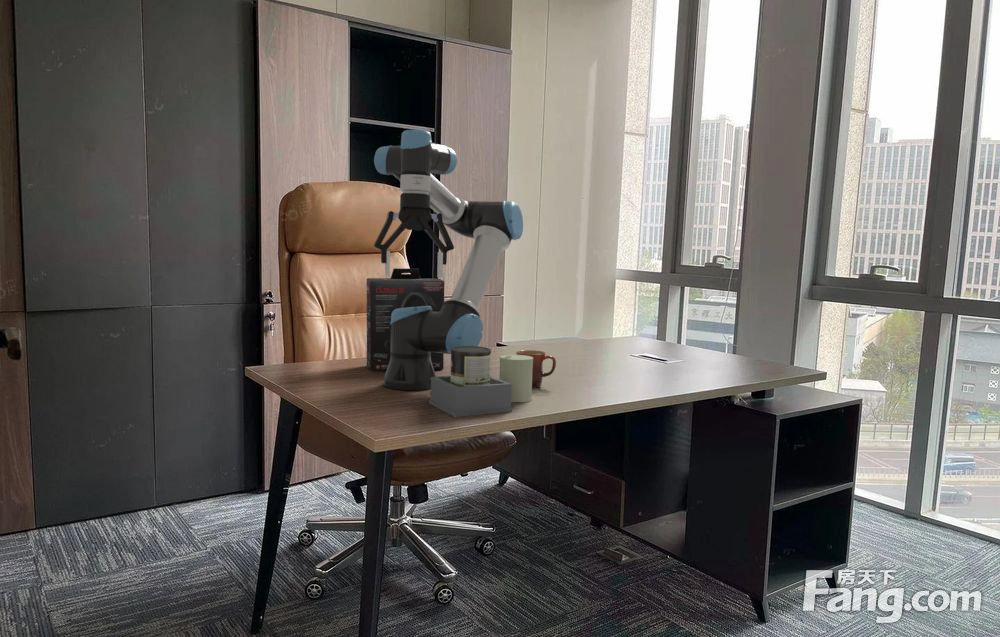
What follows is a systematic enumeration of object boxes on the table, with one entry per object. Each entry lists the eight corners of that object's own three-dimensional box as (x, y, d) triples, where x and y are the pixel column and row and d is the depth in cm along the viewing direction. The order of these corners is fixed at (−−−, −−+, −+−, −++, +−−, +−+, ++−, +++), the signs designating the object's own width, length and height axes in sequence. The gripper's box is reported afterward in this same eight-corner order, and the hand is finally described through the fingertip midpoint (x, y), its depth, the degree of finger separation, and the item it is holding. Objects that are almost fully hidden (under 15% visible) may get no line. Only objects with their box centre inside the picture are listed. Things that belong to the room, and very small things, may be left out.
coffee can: (443, 405, 184) (444, 350, 182) (457, 397, 193) (458, 345, 192) (482, 409, 181) (484, 352, 179) (494, 401, 191) (496, 347, 189)
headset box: (368, 372, 234) (369, 268, 230) (364, 365, 245) (365, 266, 242) (444, 370, 240) (446, 269, 237) (436, 364, 252) (438, 268, 249)
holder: (429, 403, 190) (429, 376, 190) (483, 398, 198) (484, 373, 197) (454, 416, 176) (455, 388, 176) (512, 411, 184) (513, 384, 183)
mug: (511, 387, 214) (512, 353, 213) (519, 382, 223) (520, 349, 222) (551, 391, 211) (553, 356, 210) (557, 385, 220) (559, 352, 219)
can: (492, 397, 201) (493, 353, 199) (520, 394, 205) (522, 352, 204) (509, 403, 193) (510, 358, 192) (538, 401, 197) (540, 357, 196)
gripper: (367, 189, 177) (366, 277, 180) (466, 194, 185) (464, 278, 187) (363, 191, 184) (362, 275, 187) (459, 196, 192) (457, 277, 194)
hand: (413, 277), depth 187 cm, fingers open, 13 cm apart
